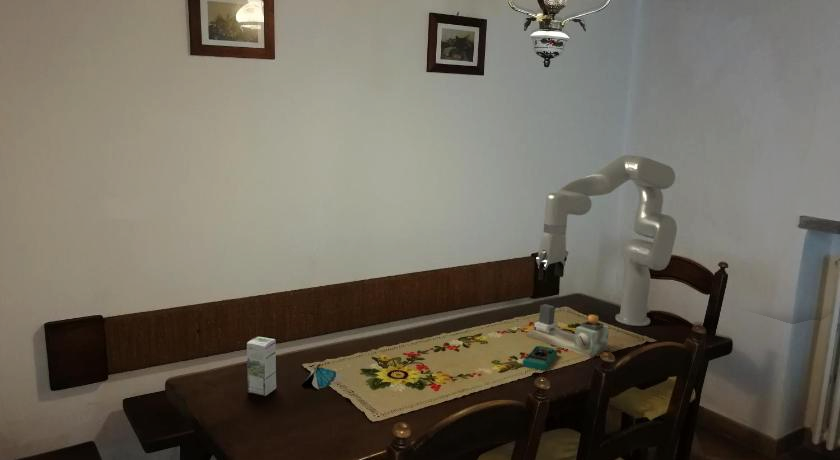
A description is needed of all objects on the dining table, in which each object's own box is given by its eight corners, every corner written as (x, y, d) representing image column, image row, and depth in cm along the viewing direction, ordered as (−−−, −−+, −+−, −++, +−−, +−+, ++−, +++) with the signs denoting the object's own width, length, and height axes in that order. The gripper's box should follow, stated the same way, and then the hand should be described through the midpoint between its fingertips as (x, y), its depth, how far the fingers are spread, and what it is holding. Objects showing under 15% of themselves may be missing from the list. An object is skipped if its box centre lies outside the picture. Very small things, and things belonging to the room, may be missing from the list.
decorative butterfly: (291, 373, 182) (311, 353, 190) (295, 392, 184) (314, 371, 192) (322, 381, 177) (341, 360, 186) (325, 400, 180) (344, 378, 188)
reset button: (591, 319, 218) (591, 314, 218) (599, 322, 216) (600, 316, 215) (586, 321, 216) (586, 315, 215) (594, 324, 213) (595, 318, 213)
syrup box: (276, 388, 180) (276, 338, 177) (265, 397, 175) (264, 345, 172) (259, 384, 182) (258, 335, 179) (246, 393, 176) (246, 342, 174)
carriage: (545, 325, 234) (547, 302, 232) (557, 329, 230) (559, 305, 229) (534, 330, 229) (535, 306, 228) (545, 333, 226) (547, 309, 224)
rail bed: (546, 328, 237) (548, 304, 235) (608, 348, 219) (611, 322, 218) (526, 336, 229) (528, 310, 227) (589, 357, 211) (591, 330, 209)
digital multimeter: (557, 356, 212) (558, 348, 211) (545, 372, 199) (545, 363, 198) (535, 352, 215) (535, 343, 215) (521, 367, 202) (522, 358, 201)
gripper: (560, 225, 231) (556, 272, 234) (530, 230, 219) (526, 279, 222) (578, 228, 225) (574, 277, 228) (549, 233, 213) (544, 284, 217)
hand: (550, 278), depth 225 cm, fingers open, 9 cm apart
